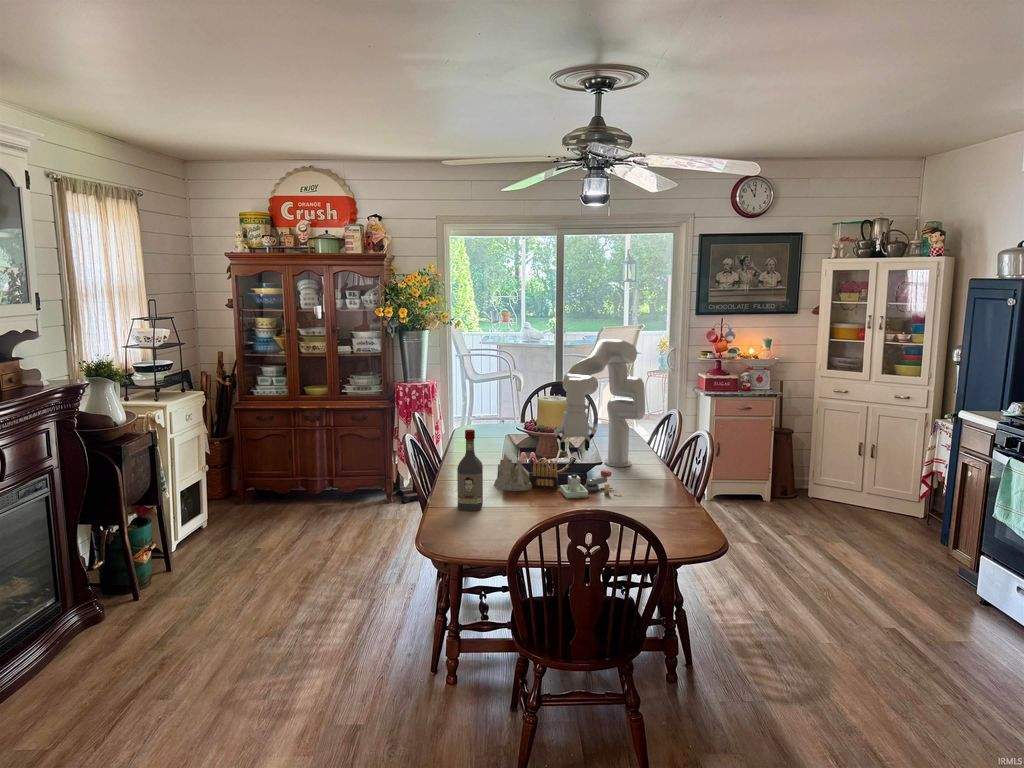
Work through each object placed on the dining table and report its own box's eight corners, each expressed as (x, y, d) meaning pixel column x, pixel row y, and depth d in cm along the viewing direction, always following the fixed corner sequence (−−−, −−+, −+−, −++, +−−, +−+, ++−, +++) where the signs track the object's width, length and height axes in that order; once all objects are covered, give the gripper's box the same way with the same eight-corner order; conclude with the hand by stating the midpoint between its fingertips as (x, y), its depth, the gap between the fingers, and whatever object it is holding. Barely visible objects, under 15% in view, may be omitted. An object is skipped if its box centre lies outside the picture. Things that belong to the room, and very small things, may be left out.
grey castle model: (530, 491, 279) (529, 455, 278) (490, 490, 282) (489, 455, 281) (535, 483, 294) (534, 448, 293) (498, 482, 297) (497, 448, 296)
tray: (559, 490, 281) (559, 485, 280) (580, 489, 282) (580, 484, 282) (566, 498, 271) (566, 492, 271) (588, 497, 273) (588, 491, 272)
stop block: (567, 491, 278) (568, 474, 277) (577, 490, 279) (577, 473, 278) (570, 494, 275) (570, 476, 273) (580, 493, 275) (580, 476, 274)
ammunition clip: (531, 487, 285) (532, 459, 283) (532, 486, 287) (532, 458, 285) (557, 489, 283) (557, 461, 281) (557, 487, 285) (558, 460, 283)
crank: (591, 487, 279) (591, 477, 278) (584, 484, 282) (584, 475, 281) (610, 481, 286) (611, 471, 286) (603, 479, 289) (604, 469, 289)
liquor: (459, 503, 265) (459, 427, 260) (483, 503, 265) (482, 428, 260) (457, 511, 256) (456, 433, 251) (481, 511, 256) (481, 433, 251)
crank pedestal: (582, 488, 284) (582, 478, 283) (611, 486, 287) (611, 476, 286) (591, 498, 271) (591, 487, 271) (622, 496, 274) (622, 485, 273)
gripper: (593, 406, 277) (592, 447, 279) (552, 407, 274) (551, 449, 276) (599, 409, 269) (598, 451, 272) (556, 411, 266) (556, 453, 269)
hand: (574, 450), depth 274 cm, fingers open, 9 cm apart
